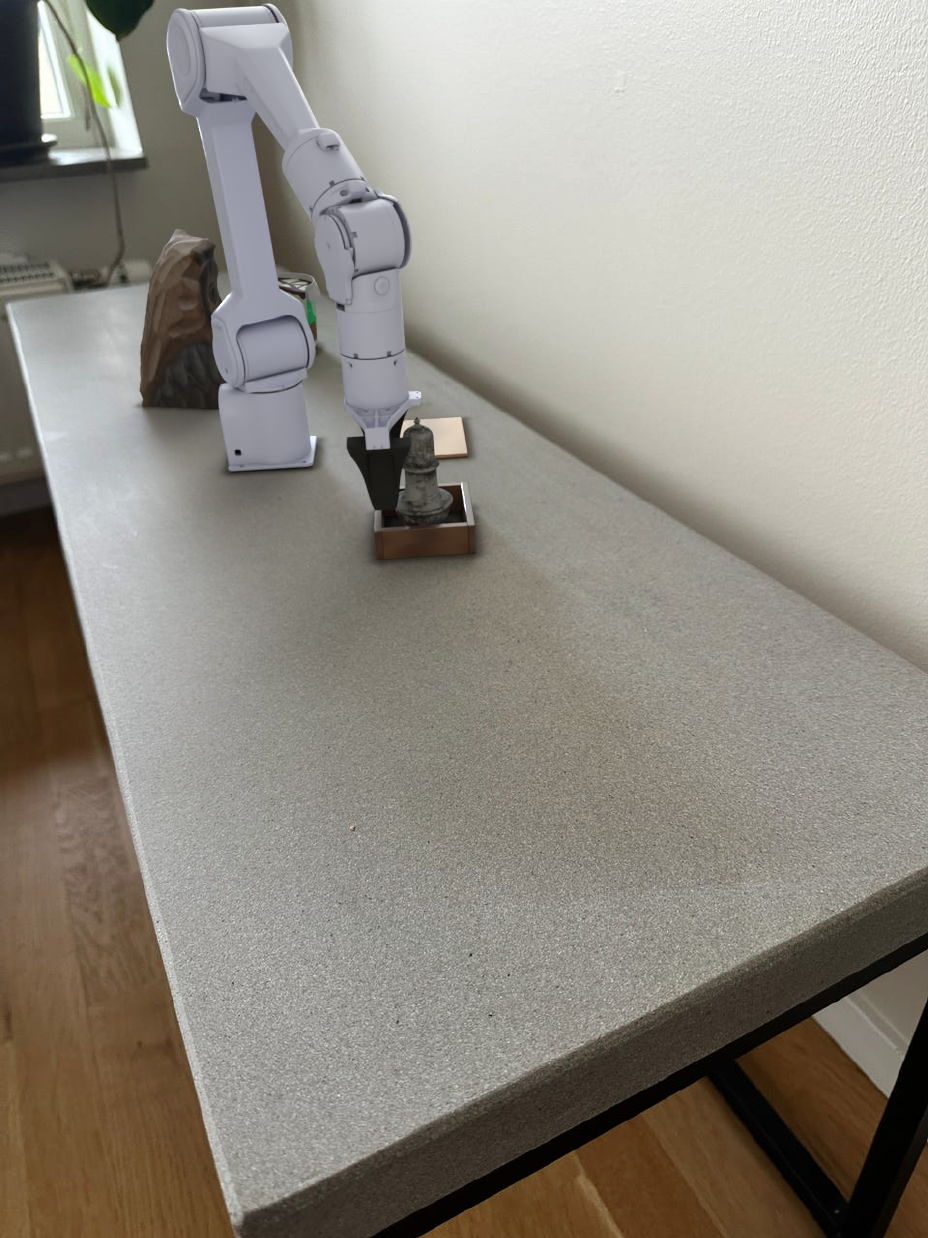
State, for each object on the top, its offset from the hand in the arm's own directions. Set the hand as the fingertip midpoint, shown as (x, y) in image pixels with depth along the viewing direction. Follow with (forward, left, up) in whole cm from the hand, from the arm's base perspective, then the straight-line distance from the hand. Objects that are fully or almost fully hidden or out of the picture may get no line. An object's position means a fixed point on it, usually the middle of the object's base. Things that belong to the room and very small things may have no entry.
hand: (385, 489), depth 92 cm
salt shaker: (+3, 0, -5) cm, 6 cm away
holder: (+3, 0, -5) cm, 6 cm away
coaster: (+3, +23, -5) cm, 24 cm away
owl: (-27, +43, -5) cm, 51 cm away
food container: (-14, +62, -5) cm, 64 cm away
